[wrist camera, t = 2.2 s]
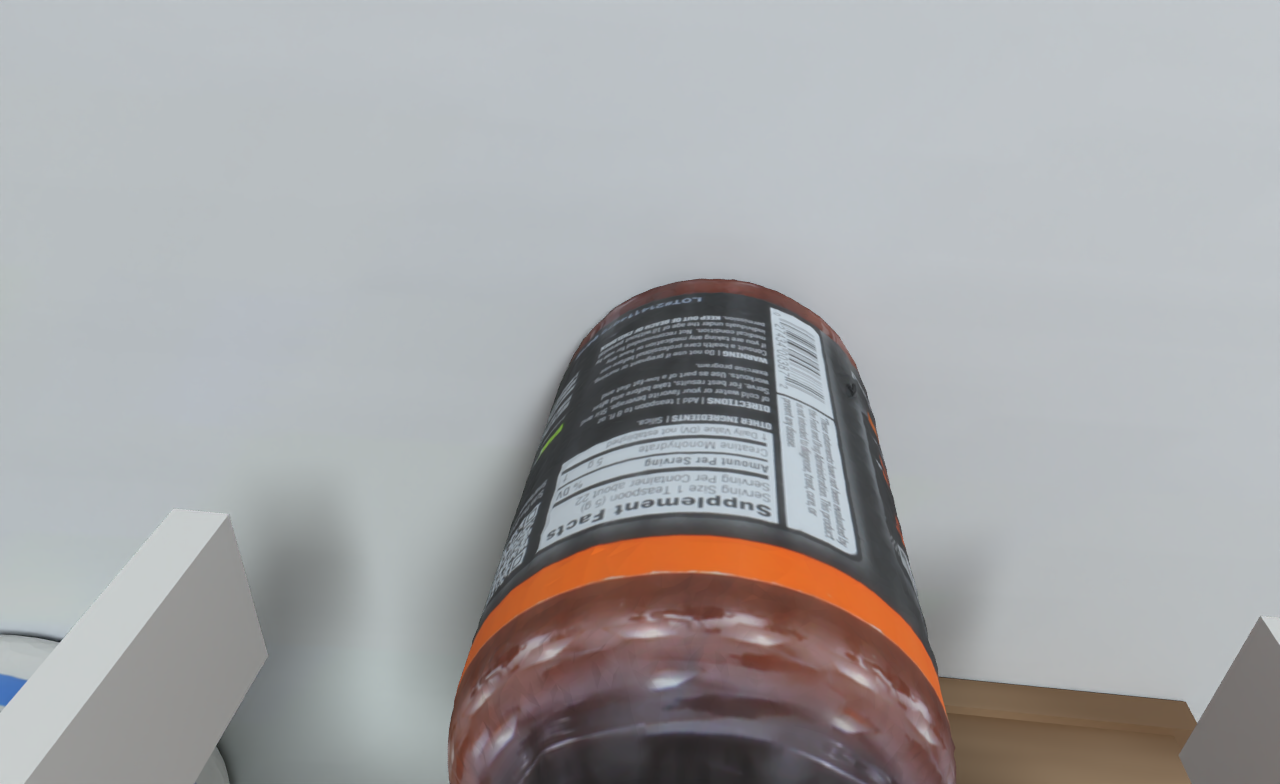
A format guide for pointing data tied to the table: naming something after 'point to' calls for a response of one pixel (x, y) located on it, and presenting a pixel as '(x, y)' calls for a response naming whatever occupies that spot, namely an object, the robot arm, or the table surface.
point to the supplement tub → (15, 659)
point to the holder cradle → (1063, 735)
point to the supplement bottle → (704, 569)
